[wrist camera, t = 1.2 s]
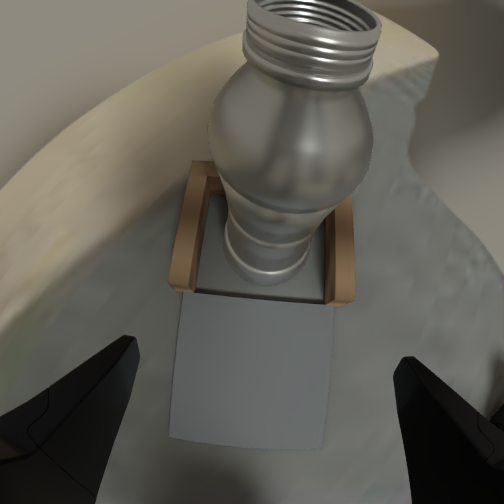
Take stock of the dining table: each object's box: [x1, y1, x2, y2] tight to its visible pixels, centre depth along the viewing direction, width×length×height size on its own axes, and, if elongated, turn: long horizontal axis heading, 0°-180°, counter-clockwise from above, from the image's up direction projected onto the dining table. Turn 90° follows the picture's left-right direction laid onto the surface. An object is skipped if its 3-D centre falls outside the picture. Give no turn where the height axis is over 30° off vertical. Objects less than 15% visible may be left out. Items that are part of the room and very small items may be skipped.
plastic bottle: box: [207, 0, 382, 286], centre depth 15 cm, size 6×7×20 cm
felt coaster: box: [169, 292, 334, 450], centre depth 21 cm, size 12×12×1 cm
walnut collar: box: [168, 161, 355, 307], centre depth 23 cm, size 10×13×3 cm
